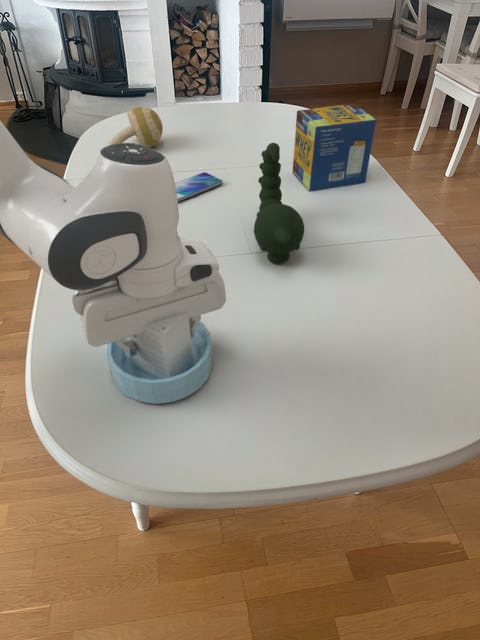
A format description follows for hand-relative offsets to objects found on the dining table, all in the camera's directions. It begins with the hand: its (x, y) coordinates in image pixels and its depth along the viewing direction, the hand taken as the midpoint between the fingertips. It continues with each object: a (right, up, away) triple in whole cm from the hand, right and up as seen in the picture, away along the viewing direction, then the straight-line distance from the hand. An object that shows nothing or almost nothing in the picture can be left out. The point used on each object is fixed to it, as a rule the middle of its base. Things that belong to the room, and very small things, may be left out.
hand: (160, 344), depth 77 cm
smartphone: (0, +34, +47) cm, 58 cm away
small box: (0, -3, +3) cm, 5 cm away
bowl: (0, -4, +3) cm, 5 cm away
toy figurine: (+19, +19, +29) cm, 40 cm away
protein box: (+33, +38, +51) cm, 72 cm away
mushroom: (-16, +51, +65) cm, 84 cm away
